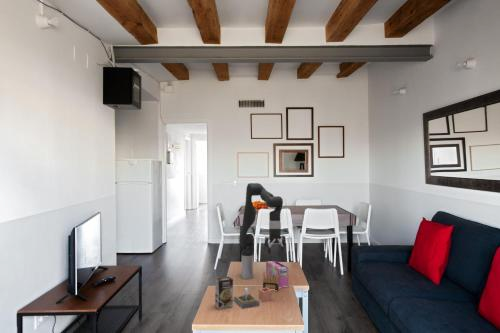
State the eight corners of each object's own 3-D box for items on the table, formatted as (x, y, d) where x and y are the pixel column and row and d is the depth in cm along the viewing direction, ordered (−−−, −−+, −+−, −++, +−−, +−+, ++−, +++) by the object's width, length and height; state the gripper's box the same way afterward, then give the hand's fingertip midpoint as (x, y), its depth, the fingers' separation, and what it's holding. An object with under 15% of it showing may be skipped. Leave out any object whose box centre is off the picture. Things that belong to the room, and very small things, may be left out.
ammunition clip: (278, 290, 204) (278, 272, 204) (278, 291, 202) (278, 273, 203) (263, 288, 207) (263, 271, 208) (262, 289, 205) (262, 272, 206)
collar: (258, 298, 190) (258, 288, 190) (267, 297, 192) (267, 287, 192) (263, 301, 184) (263, 291, 184) (271, 300, 187) (271, 290, 187)
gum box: (265, 278, 229) (264, 260, 230) (274, 277, 232) (274, 259, 233) (278, 288, 207) (278, 268, 208) (288, 287, 210) (288, 267, 211)
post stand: (233, 300, 187) (233, 285, 187) (249, 297, 191) (249, 283, 192) (242, 308, 174) (242, 292, 175) (259, 305, 179) (259, 290, 179)
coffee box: (218, 309, 173) (218, 281, 174) (214, 305, 178) (214, 278, 179) (233, 306, 177) (233, 278, 178) (228, 302, 183) (228, 275, 184)
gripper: (281, 226, 200) (281, 250, 199) (262, 227, 194) (262, 252, 193) (287, 227, 193) (287, 253, 192) (268, 228, 187) (268, 255, 186)
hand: (275, 252), depth 193 cm, fingers open, 8 cm apart
